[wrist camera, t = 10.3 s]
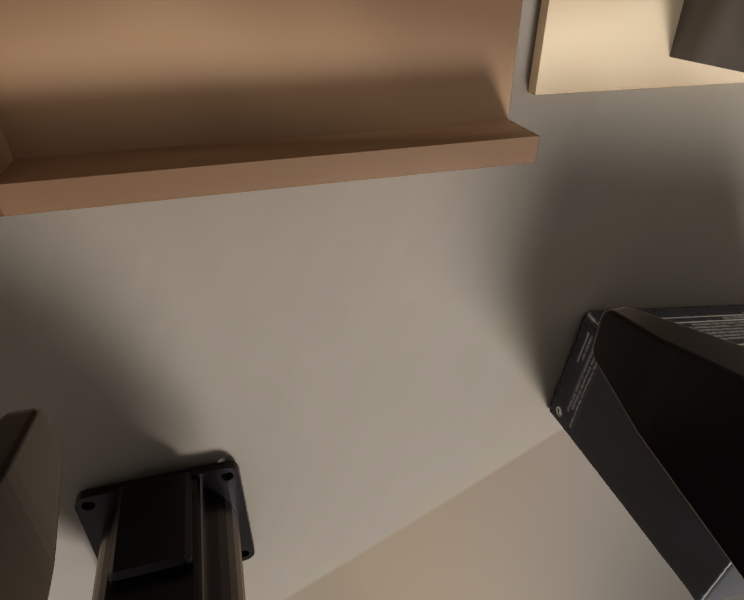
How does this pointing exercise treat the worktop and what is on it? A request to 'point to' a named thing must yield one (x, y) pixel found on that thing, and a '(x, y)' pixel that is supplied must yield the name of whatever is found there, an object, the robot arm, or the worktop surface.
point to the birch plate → (636, 44)
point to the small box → (646, 455)
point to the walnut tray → (247, 95)
